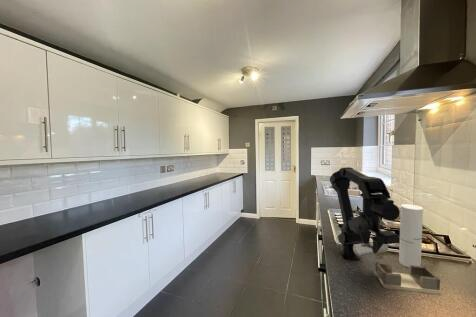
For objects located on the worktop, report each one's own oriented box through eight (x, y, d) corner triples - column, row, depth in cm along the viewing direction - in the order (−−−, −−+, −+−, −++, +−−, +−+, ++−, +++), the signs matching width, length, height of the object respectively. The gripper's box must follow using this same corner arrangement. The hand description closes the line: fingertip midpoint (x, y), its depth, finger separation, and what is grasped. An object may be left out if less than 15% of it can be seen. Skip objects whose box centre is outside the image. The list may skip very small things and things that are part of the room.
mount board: (374, 273, 82) (374, 270, 82) (424, 278, 79) (424, 275, 79) (384, 288, 74) (384, 284, 74) (440, 294, 70) (440, 291, 70)
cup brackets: (375, 271, 82) (375, 262, 82) (425, 276, 78) (425, 266, 78) (384, 284, 75) (384, 274, 74) (439, 290, 71) (440, 279, 70)
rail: (379, 248, 82) (379, 238, 82) (388, 253, 79) (388, 243, 78) (352, 252, 80) (353, 242, 80) (360, 257, 76) (360, 247, 76)
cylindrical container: (424, 269, 84) (427, 209, 82) (405, 267, 85) (407, 209, 83) (413, 259, 91) (415, 204, 89) (395, 258, 92) (397, 204, 90)
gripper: (336, 205, 86) (336, 241, 87) (373, 222, 68) (372, 267, 69) (359, 203, 88) (359, 238, 89) (401, 219, 69) (400, 263, 71)
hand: (370, 250), depth 79 cm, fingers closed on rail, 4 cm apart
